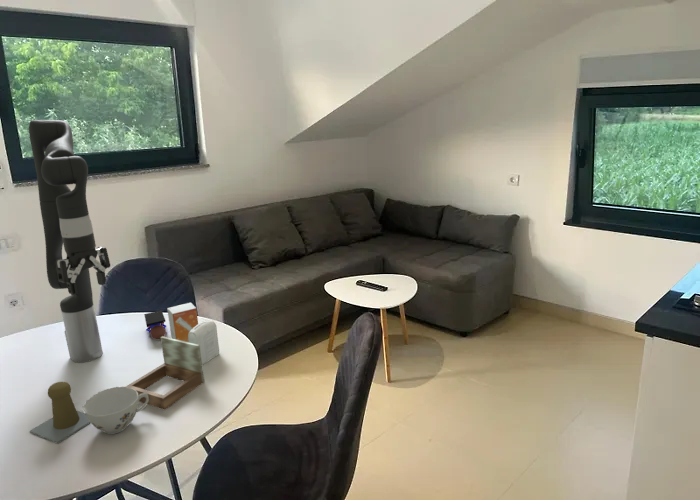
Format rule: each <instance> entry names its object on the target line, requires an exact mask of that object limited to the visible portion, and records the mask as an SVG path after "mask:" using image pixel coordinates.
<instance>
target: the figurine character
mask: <svg viewBox="0 0 700 500" xmlns="http://www.w3.org/2000/svg"><path fill="white" fill-rule="evenodd" d="M143 315H144V320H145V325H146V329H145V331H146V332H148V333H149V334H150V337H151V338H152V339H153V340H161V338H160V337H162V336H164V337H166V332H167V330H166V328H167V325H166V324H165V322H166V317H165V316H164V312H163V310H162V309H161V310H156V311H153V312H148V313H143Z"/></svg>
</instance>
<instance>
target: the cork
mask: <svg viewBox="0 0 700 500" xmlns="http://www.w3.org/2000/svg"><path fill="white" fill-rule="evenodd" d="M47 389H48V390H47V397H49V399H51V407H52V409H51V410H52V417H53V427H54V428H56V429H65V428H69V427H71V426H73V425H75V424H76V423H77V422H78V421H79V415H78V413H77V411H78V410H77V409H76V405H75V403H74V401H73V398H72V396H71V393H72V387H71V384H70V383H69V382H67V381H57V382H55V383H53V384H51V385H50V386H49V387H48V388H47Z"/></svg>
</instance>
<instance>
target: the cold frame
mask: <svg viewBox="0 0 700 500" xmlns="http://www.w3.org/2000/svg"><path fill="white" fill-rule="evenodd" d="M160 338H161V339H160V345H161V351H162V355H163V363H162V364H161V365H159V366H158V367H155V368H154V369H152V370H151V371H149V372H147V373H146V374H143V376H141V377H139V378H138V379H136V380H134V381H133V382H131V383H129V384H126V386H125V387H127V388H132V389H134V390H136V391H137V393H138V395H140V394H142V393H147V394H148V397H149V401H148V403H147V405H148V406H152V407H154V408H157V409H161V410H164V411H166V410H167V409H169V408H170V407H172V406H173V405H174V404H176V403H177V402H178V401H180V400H181V399H183V398H184V397H185V396H187V395H188V394H190V393H191V392H192V391H194V390H195V389H197V388H198V387H200V386H202V384H204V383H205V377H204V369H203V365H202V360H201V353H200V345H197V344H193V343H189V342H185V341H181V340H176V339H172V338H171V337H169V336H168V337H167V336H162V337H160ZM166 377H168V378H172V379H175V380H178V381H182V382H181V383H180V384H178V385H176V386H175V387H173V388H172V389H170V390H169V391H168V392H166V393H164V394H160V393H157V392H154V391H151V390H147V389H148V388H150V387H151V386H153V385H154V384H156V383H157V382H159V381H160V380H162V379H164V378H166ZM145 402H146V398H145V397H142V398H141V399H140V400H139V403H142V404H144V403H145Z"/></svg>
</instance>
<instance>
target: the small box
mask: <svg viewBox="0 0 700 500" xmlns="http://www.w3.org/2000/svg"><path fill="white" fill-rule="evenodd" d="M197 311H198V309H197V307H196V306H195V305H194V304H193V303H192V302H186V303H183V304H179V305H174V306H171V307H167V315H168V322H169V330H170V331H169V332H170V336H171V337H170V338H172V339H176V340H181V341H185V342H189V340H188V334H189V332H190V331H191V330H192V329H193V328H194V327H195V326H196V325H198V324H199V319H198V312H197Z"/></svg>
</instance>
